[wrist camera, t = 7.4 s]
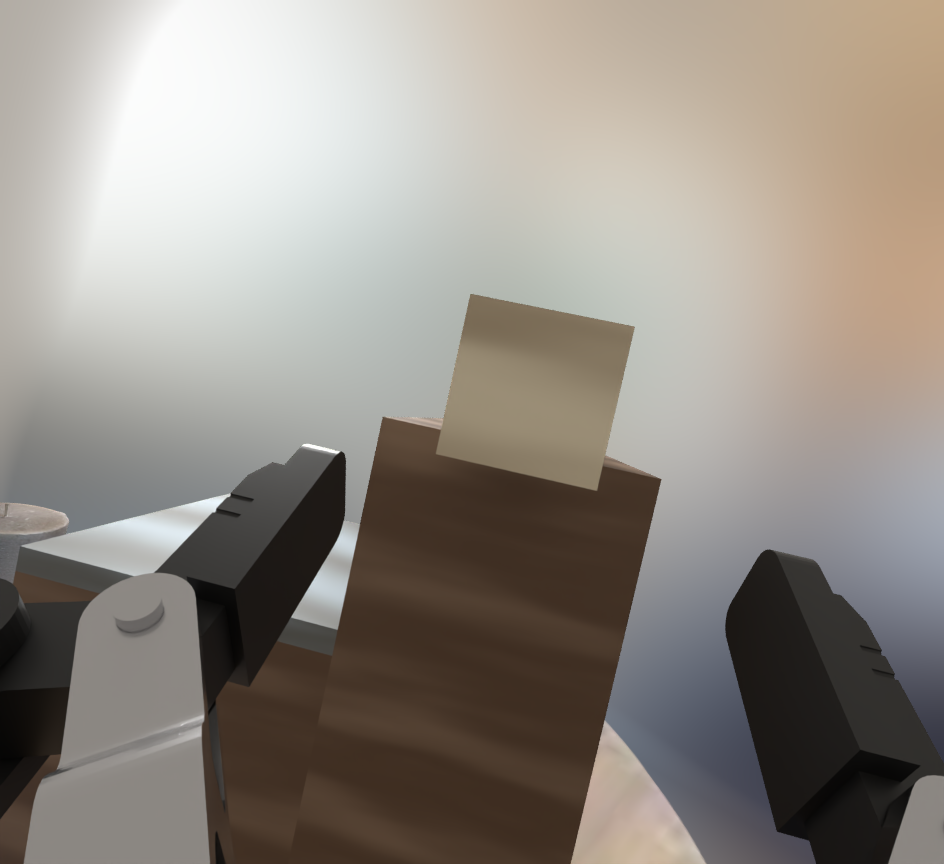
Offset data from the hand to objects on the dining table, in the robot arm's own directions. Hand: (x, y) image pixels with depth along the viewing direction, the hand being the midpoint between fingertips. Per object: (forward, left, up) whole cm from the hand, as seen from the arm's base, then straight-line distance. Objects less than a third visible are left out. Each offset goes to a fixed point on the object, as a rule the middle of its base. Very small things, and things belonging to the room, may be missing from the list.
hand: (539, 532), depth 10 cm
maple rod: (+5, +9, +1) cm, 11 cm away
